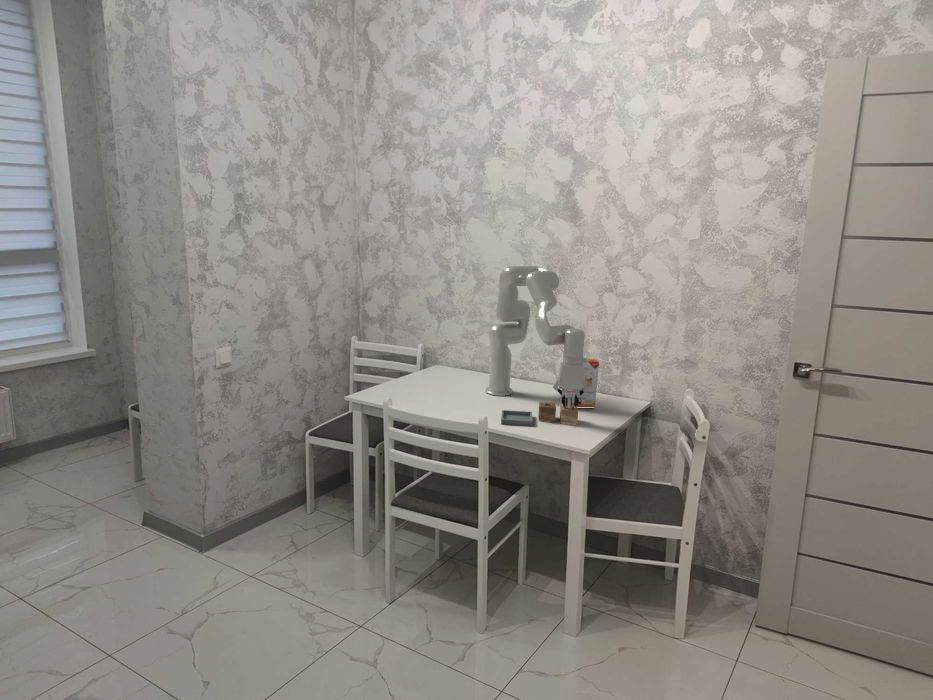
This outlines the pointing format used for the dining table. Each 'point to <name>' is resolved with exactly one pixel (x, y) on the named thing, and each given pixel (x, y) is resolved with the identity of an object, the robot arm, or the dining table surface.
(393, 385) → the dining table surface
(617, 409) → the dining table surface
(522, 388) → the dining table surface
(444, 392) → the dining table surface
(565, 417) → the oak block
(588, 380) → the cracker box
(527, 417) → the tray
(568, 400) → the steel pin
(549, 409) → the walnut block
